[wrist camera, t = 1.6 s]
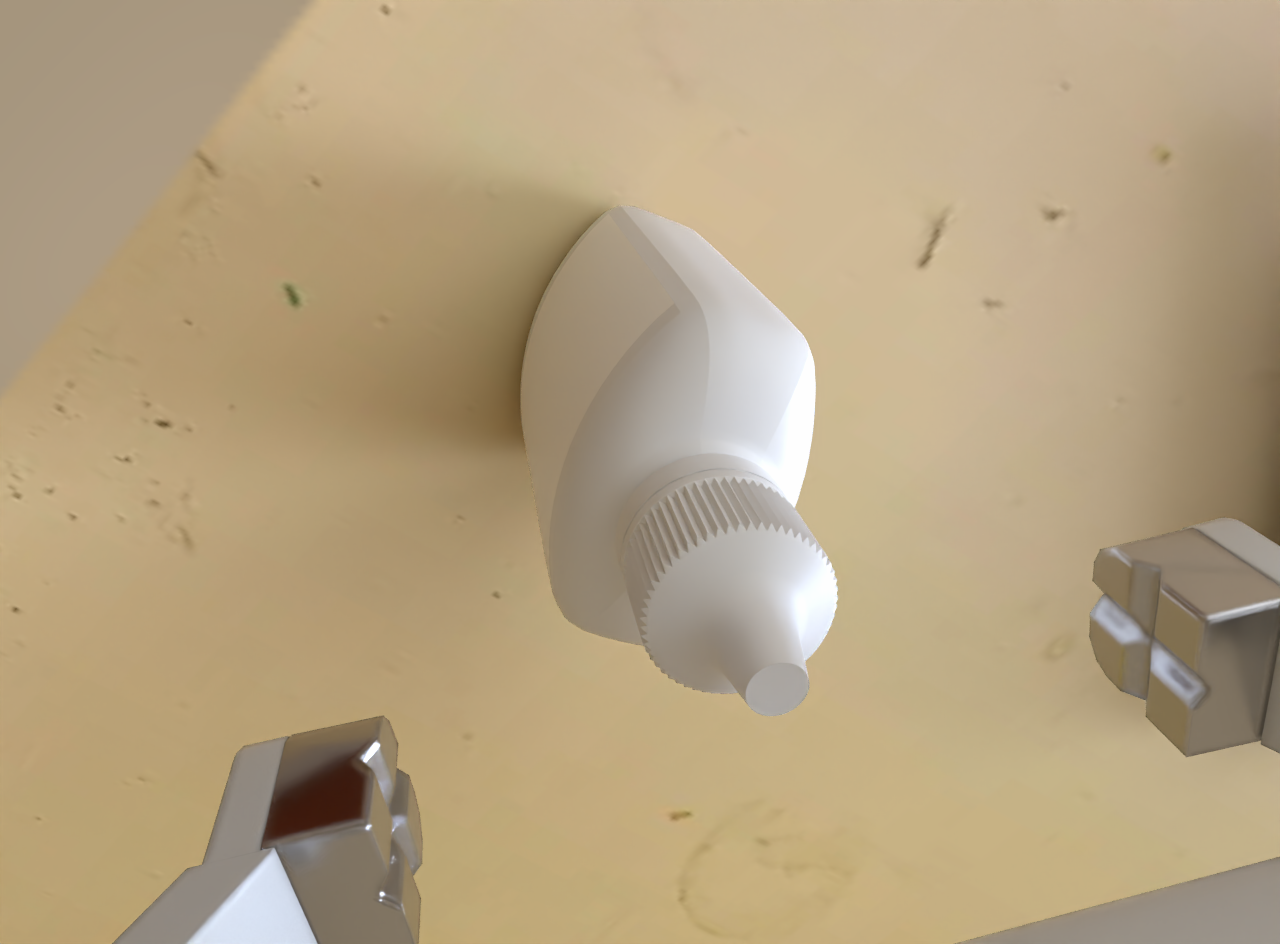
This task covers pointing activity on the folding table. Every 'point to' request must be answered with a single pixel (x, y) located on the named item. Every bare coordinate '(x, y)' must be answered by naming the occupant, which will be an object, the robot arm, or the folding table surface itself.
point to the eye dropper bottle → (676, 460)
